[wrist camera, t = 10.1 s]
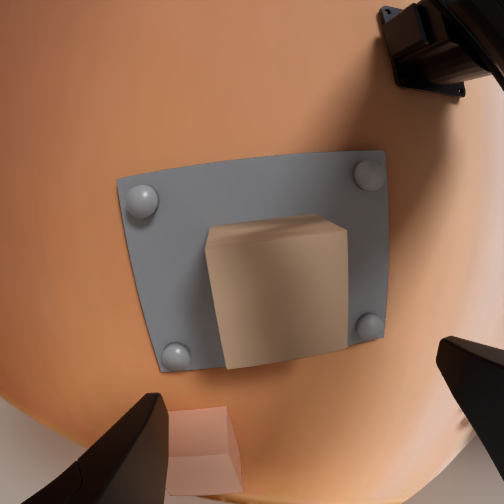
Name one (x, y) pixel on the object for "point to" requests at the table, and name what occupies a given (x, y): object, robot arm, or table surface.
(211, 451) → the pink cube
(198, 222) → the baseplate
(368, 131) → the table surface
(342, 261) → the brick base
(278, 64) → the table surface
